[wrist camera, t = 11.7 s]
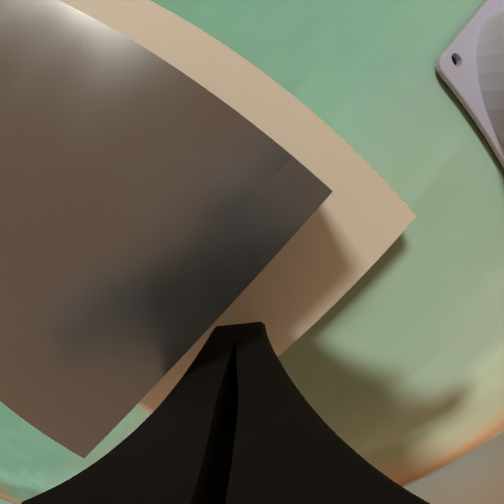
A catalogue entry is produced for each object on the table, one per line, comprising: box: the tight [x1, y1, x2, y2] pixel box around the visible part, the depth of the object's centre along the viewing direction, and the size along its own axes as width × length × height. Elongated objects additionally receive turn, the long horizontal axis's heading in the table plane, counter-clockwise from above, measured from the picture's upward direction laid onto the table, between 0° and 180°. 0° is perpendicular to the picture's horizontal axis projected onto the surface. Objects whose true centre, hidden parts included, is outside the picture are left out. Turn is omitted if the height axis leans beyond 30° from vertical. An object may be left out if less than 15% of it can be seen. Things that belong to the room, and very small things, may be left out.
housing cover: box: [0, 0, 333, 458], centre depth 6 cm, size 9×9×4 cm
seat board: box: [59, 0, 416, 414], centre depth 9 cm, size 12×20×2 cm, turn 51°
